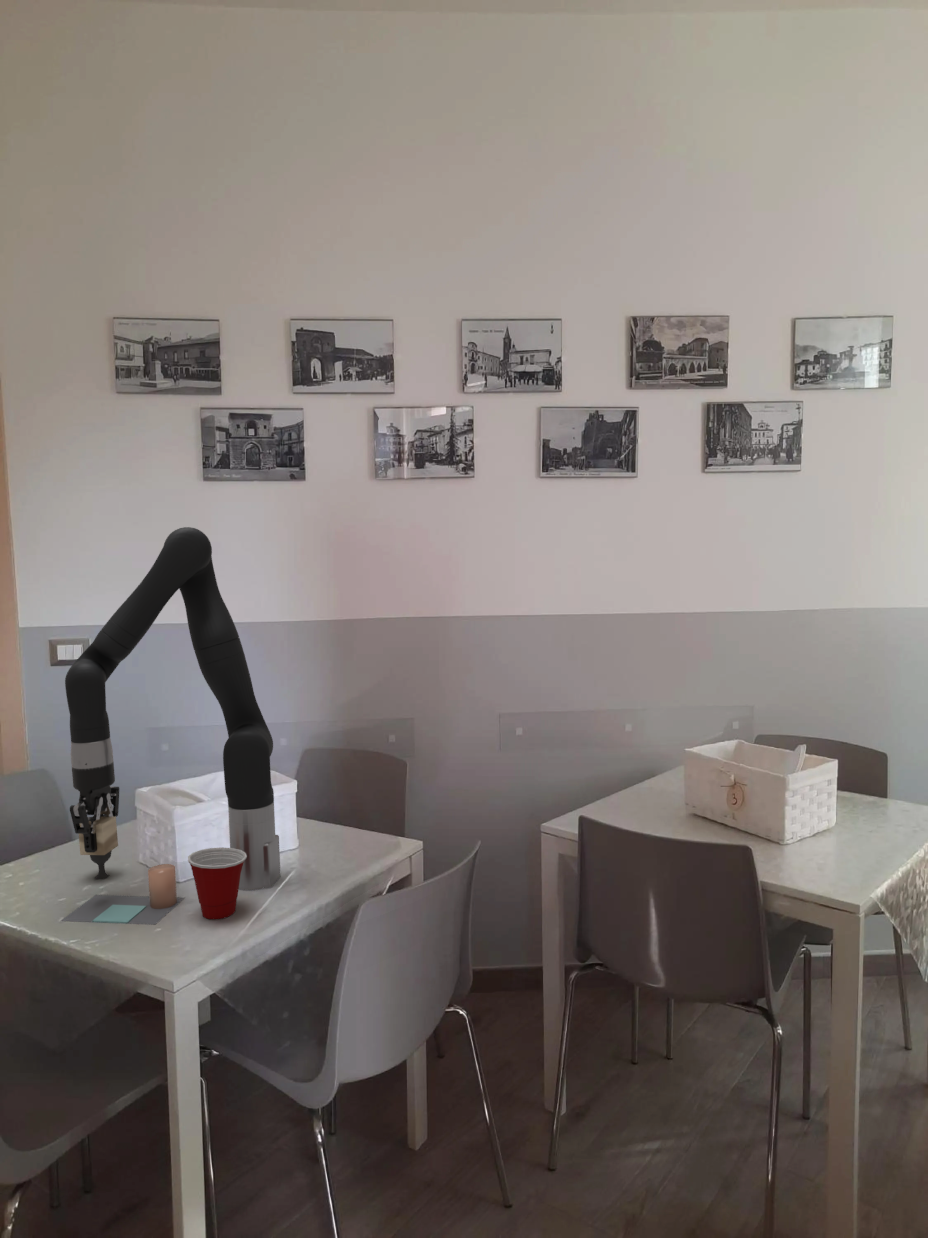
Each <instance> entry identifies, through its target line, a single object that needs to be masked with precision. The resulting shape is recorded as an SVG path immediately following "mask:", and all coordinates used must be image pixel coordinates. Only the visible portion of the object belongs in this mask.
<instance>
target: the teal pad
mask: <svg viewBox="0 0 928 1238" xmlns="http://www.w3.org/2000/svg"><path fill="white" fill-rule="evenodd" d="M145 908H146V906H136V905H112V906H110V907H109V908H108V909H107V910H105V911H104V912H103V913H101V914H100V915H99V916H98V917H96V918H95V919H94V920H92V922H91V923H96V922H102V923H101V924H122V923H129V922H130V921H131V920H132V919H133V918H135V917H136V916H137V915H138V914H139V913H140V912H142V911H143V910H144V909H145Z"/></svg>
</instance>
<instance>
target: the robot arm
mask: <svg viewBox="0 0 928 1238" xmlns="http://www.w3.org/2000/svg"><path fill="white" fill-rule="evenodd" d="M212 553H213V549H212V544H211V541H210V539H209V537H208V536H207V535H206V534H205V533H204V532H203V531H201V530H200V529H198V528H196V527H190V526H188V527H187V526H185V527H184V526H183V527H179V528H177V529H174V530H173V531H172V532H170V534H168V535H167V537H166V539H165V540H164V544H163V546H162V549H161V550H160V551H159V554H158V556H157V557H156V559H155V561H154V563H153V565H152V566H151V567H150V569H149V571H148V572H147V574H146V575H145V576H144V578H143V579H142V580H141V582H140V583H139V584H138V586H137V587H136V588H135V589H134V590H133V591H132V592H131V594H129V596H128V597H127V598H126V599H125V601H124V602H123V603H121V605H120V606H119V607H118V608H117V609H116V611H115V612H114V613H113V615H112V616H111V617H110V618H109V619H108V620H107V622H106V623H105V624H104V626H103V627H102V628H101V629H100V630H99V632H98V633H97V635H96V636H95V637H94V640H93V641H92V643H91V644H90V645H89V646H87V648H86V649H85V650H84V651H83V652H82V653H81V654H80V656H78V658H77V659H76V660H75V662H74V663H73V664H71V666H70V668H69V669H68V671H67V673H66V675H65V679H64V686H65V688H64V689H65V695H66V700H67V701H66V702H67V705H68V706H67V707H68V713H69V732H70V733H69V735H70V763H71V774H72V775H71V776H72V786H73V789H74V790H77V791H78V792H79V798H78V802H77V804H74V805H72V804H71V805H70V806H69V814H70V817H71V820H72V825H73V828H74V829H73V830H74V833H75V834H77V835H79V834H83V836H84V848H85V851H86V852H95V851H97V839H96V833H95V832H96V825H97V821H99V819H100V817H116V818H117V817H118V816H119V807H120V786H112V785H114V783H115V782H116V775H115V764H114V753H113V752H114V749H113V745H112V739H111V731H110V721H109V720H110V719H109V714H108V712H107V699H106V698H107V697H106V693H107V692H106V682H107V681H108V680H109V679H110V677H111V676H112V674H113V673H114V671H115V670H116V669H117V667H118V666H119V665H120V663H121V662H122V661H124V660H125V659H126V658H127V657H128V656H129V655H130V654H131V653H132V652H133V650H134V649H135V648H136V646H137V645H138V644H139V643H140V641H141V640H142V639H143V637H144V636H145V635H146V633H147V632H148V631H149V629H151V627H152V625H153V624H154V622H155V621H156V620H157V618H158V616H159V615H160V613H161V612H162V611H163V609H164V608H165V606H166V604H167V603H168V602H169V601H170V600H171V598H172V597H173V596H174V595H175V594H176V592H178V590H179V592H180V594H181V597H182V599H183V603H184V608H185V613H186V618H187V619H186V620H187V625H188V630H189V635H190V639H191V640H190V641H191V644H192V648H193V651H194V653H195V657H196V661H197V663H198V666H199V669H200V672H201V675H202V677H203V678H204V680H205V682H206V684H207V686H208V688H209V689H210V690H211V693H212V694H213V695H214V697H215V699H216V700H217V702H218V704H219V706H220V709H221V711H222V714H223V718H224V722H225V726H226V729H227V730H226V731H227V736H228V738H227V740H226V742H225V743H224V746H223V751H222V763H223V777H224V791H225V794H226V797H227V806H228V807H227V808H228V827H229V828H228V831H229V832H228V833H229V848H234V849H238V850H242V851H243V852H245V853H246V855H247V858H246V860H245V861H244V863H243V866H242V871H241V875H240V882H239V889H238V891H239V890H240V891H258V890H262V889H271V888H272V887H273V886H274V885H275V884H276V883H277V882H278V880H279V879H281V876H282V875H281V874H282V873H281V853H280V835H279V834H276V822H275V820H276V819H275V818H276V816H275V796H274V795H275V792H274V787H273V786H272V776H271V775H272V774H271V773H272V772H271V756H272V755H273V754H272V753H273V750H274V741H273V736H272V734H271V731H270V730H269V729H270V728H269V727H268V725H267V723H266V721H265V718H264V716H263V714H262V711H261V709H260V706H259V704H258V700H257V699H256V695H255V692H254V687H253V683H252V682H253V681H252V678H251V674H250V670H249V666H248V663H247V659H246V655H245V651H244V647H243V645H242V642H241V639H240V636H239V633H238V630H237V628H236V625H235V622H234V620H233V618H232V615H231V613H230V611H229V609H228V607H227V605H226V602H225V601H224V599H223V597H222V594H221V592H220V589H219V586H218V582H217V577H216V573H215V570H214V569H215V568H214V565H213V563H214V562H213V557H212ZM89 821H91V827H90V825H89ZM80 823H81V827H80Z"/></svg>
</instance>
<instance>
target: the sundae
mask: <svg viewBox="0 0 928 1238" xmlns="http://www.w3.org/2000/svg"><path fill="white" fill-rule="evenodd" d="M112 852H113V850H111V851H110V852H108V853H107V854H105V855H89V857H90V860H91V861H92V862H93V863H94V864H96V865H98V866H97V867H98V873H97V874H96V875H95V877H94V880H105V879H108V878H109V877H110V874H108V873H107V872H106V870H105V869H106V868H105V866H106V865H105V864H106V863H107V862H108V861H109V860H110V858H111V857H112Z"/></svg>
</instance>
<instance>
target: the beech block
mask: <svg viewBox="0 0 928 1238" xmlns="http://www.w3.org/2000/svg"><path fill="white" fill-rule="evenodd" d="M89 825H90V827H91V821H89ZM80 827H81V823H80ZM117 828H118V826H117V817H100V819H99V821H97V825H96V832H95V833H96V839H97V851H95V852H86V851H85V848H84V836H83V834H78V843H79V854H80V856H90V855H105V854H107V853H108V852H110V851H111V850H112V851H113V850H114V849H116V848H117V847H118V846H119V840H118V829H117Z"/></svg>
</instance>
